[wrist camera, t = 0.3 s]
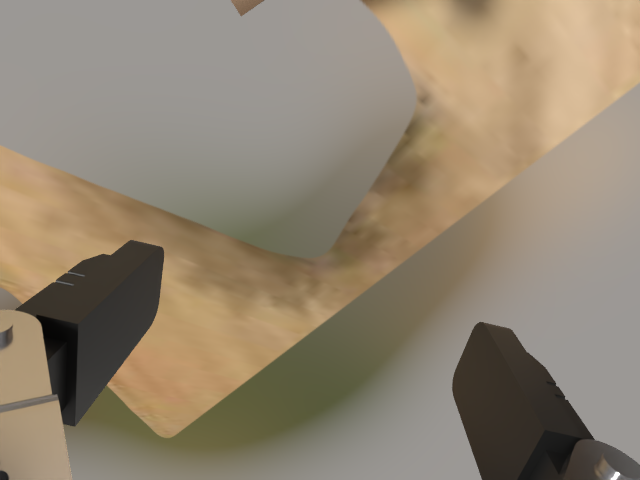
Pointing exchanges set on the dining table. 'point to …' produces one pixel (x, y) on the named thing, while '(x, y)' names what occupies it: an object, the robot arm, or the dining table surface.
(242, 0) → the tan wooden flat board
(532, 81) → the dining table surface
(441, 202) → the dining table surface
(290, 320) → the dining table surface
